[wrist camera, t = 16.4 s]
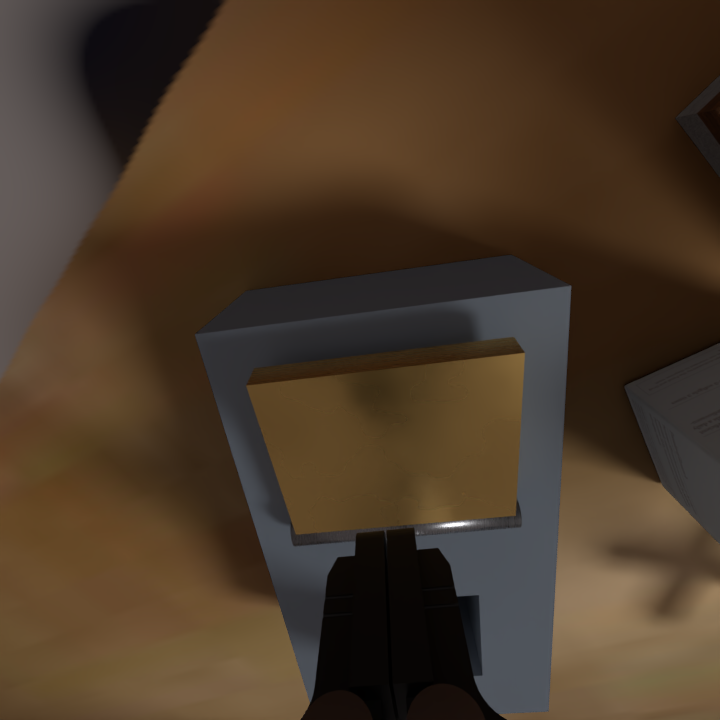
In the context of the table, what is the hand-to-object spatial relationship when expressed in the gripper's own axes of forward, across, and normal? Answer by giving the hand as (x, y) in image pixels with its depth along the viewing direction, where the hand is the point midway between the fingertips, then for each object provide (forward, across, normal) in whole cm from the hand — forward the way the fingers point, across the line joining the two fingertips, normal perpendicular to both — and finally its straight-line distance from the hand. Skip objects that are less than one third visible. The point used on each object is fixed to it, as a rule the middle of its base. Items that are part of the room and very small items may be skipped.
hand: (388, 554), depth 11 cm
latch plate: (+4, 0, 0) cm, 4 cm away
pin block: (+11, 0, +6) cm, 12 cm away
